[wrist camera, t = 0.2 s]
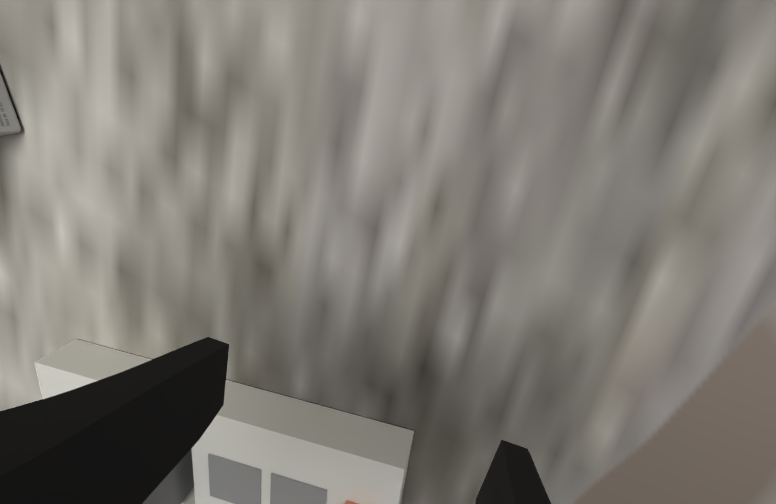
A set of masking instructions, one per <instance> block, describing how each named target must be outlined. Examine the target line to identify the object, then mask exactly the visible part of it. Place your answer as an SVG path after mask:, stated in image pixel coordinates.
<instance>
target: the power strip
mask: <svg viewBox="0 0 776 504" xmlns="http://www.w3.org/2000/svg"><path fill="white" fill-rule="evenodd" d="M150 360H152V359H148V358H144V357H141V356H137V355H133V354H130V353H126V352H122V351H119V350H115V349H111V348H108V347H104V346H100V345H96V344H93V343H89V342H85V341H82V340H78V339H74V340H72V341H70V342H69V343H67V344H65V345H63V346H62V347H60V348H58V349H56V350H55V351H53V352H51V353H49V354H48V355H46V356H44V357H42V358H41V359H39V360H37V361H35V362H34V363H35V368H36V372H37V376H38V381H39V385H40V390H41V394H42V399H45V398H49V397H52V396H55V395H58V394H61V393H64V392H67V391H70V390H73V389H76V388H79V387H82V386H84V385H87V384H90V383H93V382H95V381H98V380H101V379H104V378H106V377H109V376H112V375H115V374H117V373H120V372H123V371H125V370H128V369H130V368H133V367H135V366H138V365H140V364H143V363H145V362H148V361H150ZM413 435H414V431H412V430H409V429H405V428H401V427H398V426H394V425H390V424H387V423H383V422H379V421H376V420H372V419H368V418H365V417H361V416H357V415H354V414H350V413H346V412H343V411H339V410H335V409H332V408H328V407H324V406H321V405H317V404H313V403H310V402H306V401H302V400H299V399H295V398H291V397H288V396H284V395H280V394H276V393H273V392H269V391H265V390H262V389H258V388H254V387H251V386H247V385H243V384H240V383H236V382H232V381H229V380H226V383H225V394H224V405H223V406H222V408H221V409H220V411H219V412H218V414H217V415H216V417H215V418H214V420H213V421H212V422H211V424H210V425H209V427H208V428H207V429H206V431H205V432H204V434H203V435H202V436H201V438H200V439H199V440H198V441H197V443H196V444H195V445H194V446H193V447H192V463H193V477H194V487H193V489H192V490H191V491H190V492H189V494H188V495H187V496H186V498H185V499H184V500H183V501H182V503H181V504H401V500H402V495H403V489H404V484H405V479H406V473H407V468H408V462H409V457H410V451H411V446H412V440H413Z"/></svg>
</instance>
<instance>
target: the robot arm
mask: <svg viewBox="0 0 776 504" xmlns="http://www.w3.org/2000/svg"><path fill="white" fill-rule="evenodd" d="M228 349H229V344H226V343H224V342H221V341H218V340H215V339H212V338H209V337H207V338H205V339H202V340H199V341H197V342H194V343H192V344H189V345H187V346H184V347H182V348H179V349H177V350H175V351H172V352H170V353H167V354H165V355H162V356H160V357H158V358H155V359H153V360H150V361H148V362H145V363H143V364H140V365H138V366H135V367H133V368H130V369H128V370H125V371H123V372H120V373H117V374H115V375H112V376H109V377H106V378H104V379H101V380H98V381H95V382H93V383H90V384H87V385H84V386H82V387H79V388H76V389H73V390H70V391H67V392H64V393H61V394H58V395H55V396H52V397H49V398H45V399H42V400H39V401H35V402H32V403H28V404H25V405H22V406H18V407H15V408H11V409H7V410H4V411H0V504H142V503H143V502H144V501H145V500H146V499H147V498H148V497H149V495H150V494H151V493H152V492H153V491H154V490H155V489H156V488H157V487H158V485H159V484H160V483H161V482H162V481H163V480H164V479H165V478H166V477H167V475H168V474H169V473H170V472H171V471H172V470H173V469H174V468H175V467H176V465H177V464H178V463H179V462H180V461H181V460H182V459H183V457H184V456H185V455H186V454H187V453H188V452H189V451H190V450H191V448H192V447H193V446H194V445H195V444H196V443H197V441H198V440H199V439H200V438H201V436H202V435H203V434H204V432H205V431H206V429H207V428H208V427H209V425H210V424H211V422H212V421H213V420H214V418H215V417H216V415H217V414H218V412H219V411H220V409H221V408H222V406H223V405H224V394H225V383H226V372H227V361H228ZM476 504H551V502H550V500H549V498H548V495H547V493H546V491H545V489H544V486H543V484H542V481H541V479H540V477H539V474H538V472H537V470H536V467H535V465H534V462H533V460H532V458H531V455H530V453H529V451H528V449H526V448H523V447H520V446H518V445H515V444H512V443H509V442H506V441H503V440H501V442H500V445H499V447H498V449H497V452H496V454H495V456H494V459H493V461H492V463H491V466H490V468H489V470H488V473H487V475H486V477H485V480H484V482H483V484H482V486H481V489H480V491H479V493H478V496H477V498H476Z"/></svg>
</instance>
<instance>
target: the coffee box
mask: <svg viewBox="0 0 776 504" xmlns="http://www.w3.org/2000/svg"><path fill="white" fill-rule="evenodd" d="M19 132H21V127H20V124H19V121H18V119H17V116H16V113H15V111H14V108H13V105H12V103H11V100H10V97H9V95H8V92H7V89H6V86H5V83H4V81H3V78H2V76H1V73H0V136H1V135H7V134H14V133H19Z"/></svg>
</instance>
